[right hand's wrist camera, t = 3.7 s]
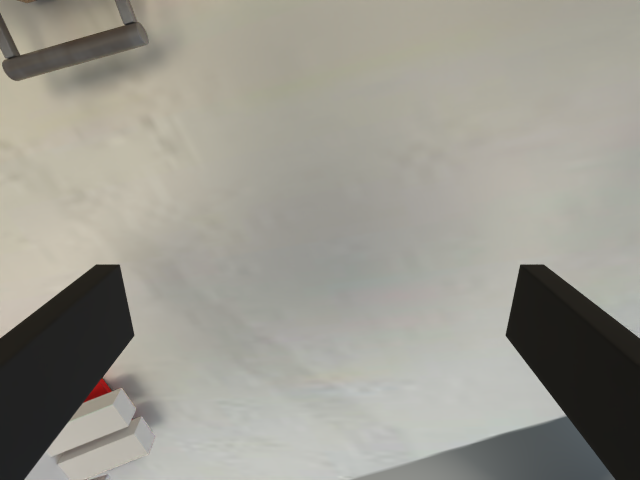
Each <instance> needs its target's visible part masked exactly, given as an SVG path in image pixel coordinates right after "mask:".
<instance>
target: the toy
mask: <svg viewBox="0 0 640 480" xmlns="http://www.w3.org/2000/svg"><path fill="white" fill-rule="evenodd" d="M135 411H136V407H135V406H134V404H133V403H132V401H131V400H130V399H129V397H128V396H127V394H126V393H125V391H124V390H123V389H122V388H120V389H117V390H114V391H111V389H110V388H109V387H108V385H107V384H106V383H105V381H104V380H103V379H101V380H100V381H99V383H98V384H97V385H96V386H95V388H94V389H93V390H92V392H91V393H90V394H89V396H88V397H87V398H86V400H85V401H84V402H83V403H82V405H81V406H80V407H79V409H78V410H77V411H76V413H75V414H74V415H73V417H72V418H71V419H70V421H69V422H68V423H67V424H66V426H65V427H64V428H63V430H62V431H61V432H60V434H59V435H58V436H57V438H56V439H55V440H54V441H53V443H52V444H51V445H50V447H49V448H48V449H47V451H46V452H45V453H44V455H43V456H42V457H41V458H40V460H39V461H38V462H37V464H36V465H35V466H34V468H33V469H32V470H31V472H30V473H29V474H28V476H27V477H26V478H25V479H24V480H87V479H88V478H90V477H93V476H95V475H98V474H100V473H103V472H105V471H108V470H110V469H113V468H115V467H118V466H121V465H123V464H126V463H128V462H131V461H133V460H136V459H138V458H141V457H143V456H146V455H148V454H149V453H150V450H151V447H152V444H153V441H154V439H155V435H154V433H153V432H152V430H151V429H150V427H149V426H148V424H147V423H146V422H145V420H144V419H143V417H142V416H141V417H138V418H136V419H132V418H133V415H134V413H135ZM91 480H110V477H109V476H108V475H104V476H101V477H98V478H94V479H91Z"/></svg>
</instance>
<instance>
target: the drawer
mask: <svg viewBox="0 0 640 480" xmlns="http://www.w3.org/2000/svg"><path fill="white" fill-rule="evenodd" d="M18 1H21V2H25V3H29V2H33V1H36V0H18ZM115 2H116V5H117V7H118V10H119V13H120V15H121V18H122V21H123V23H124V24H125V26H121V27H118V28H114V29H111V30H107V31H104V32H100V33H97V34H93V35H90V36H86V37H83V38H79V39H76V40H72V41H69V42H65V43H62V44H58V45H55V46H51V47H48V48H44V49H41V50H37V51H34V52H30V53H27V54H23V55H20V54H19V52H18V50H17V48H16V45H15V43H14V41H13V39H12V37H11V35H10V33H9V31H8V28H7V26H6V24H5V22H4V20H3V18H2V16H1V14H0V49H1V51H2V53H3V55H4V57H5V58H7V59H6V60H4V61H3V63H2V67H3V69H4V71H5V73H6V74H7V76H8V77H10V78H11V79H12V80H15V81H20V80H23V79H27V78H30V77H34V76H37V75H41V74H45V73H48V72H52V71H55V70H59V69H62V68H66V67H70V66H73V65H77V64H80V63H84V62H87V61H91V60H95V59H98V58H102V57H105V56H109V55H112V54H116V53H120V52H123V51H127V50H130V49H134V48H137V47H141V46H145V45H147V44H148V43H149V41H148V36H147V33H146V31H145V29H144V27H143V26H142V25H141V23H139V22H137V20H136V17H135V15H134V12H133V9H132V6H131V4H130V1H129V0H115Z"/></svg>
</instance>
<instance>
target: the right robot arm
mask: <svg viewBox="0 0 640 480" xmlns="http://www.w3.org/2000/svg"><path fill="white" fill-rule="evenodd" d="M133 337H134V331H133V326H132V322H131V317H130V312H129V307H128V302H127V298H126V293H125V288H124V283H123V278H122V274H121V269H120V265H95V266H94V267H93V268H91V269H90V270H89V271H87V272H86V273H85V274H83V275H82V276H81V277H80V278H78V279H77V280H76V281H74V282H73V283H72V284H70V285H69V286H68V287H67V288H65V289H64V290H63V291H61V292H60V293H59V294H57V295H56V296H55V297H54V298H52V299H51V300H50V301H48V302H47V303H46V304H44V305H43V306H42V307H41V308H39V309H38V310H37V311H35V312H34V313H33V314H31V315H30V316H29V317H28V318H26V319H25V320H24V321H22V322H21V323H20V324H18V325H17V326H16V327H15V328H13V329H12V330H11V331H9V332H8V333H7V334H5V335H4V336H3V337H2V338H0V480H24V479H25V478H26V477H27V476H28V474H29V473H30V472H31V470H32V469H33V468H34V466H35V465H36V464H37V462H38V461H39V460H40V458H41V457H42V456H43V455H44V453H45V452H46V451H47V449H48V448H49V447H50V445H51V444H52V443H53V441H54V440H55V439H56V438H57V436H58V435H59V434H60V432H61V431H62V430H63V428H64V427H65V426H66V424H67V423H68V422H69V421H70V419H71V418H72V417H73V415H74V414H75V413H76V411H77V410H78V409H79V407H80V406H81V405H82V403H83V402H84V401H85V400H86V398H87V397H88V396H89V394H90V393H91V392H92V390H93V389H94V388H95V386H96V385H97V384H98V383H99V381H100V380H101V379H102V377H103V376H104V375H105V373H106V372H107V371H108V369H109V368H110V367H111V366H112V364H113V363H114V362H115V360H116V359H117V358H118V356H119V355H120V354H121V352H122V351H123V350H124V349H125V347H126V346H127V345H128V343H129V342H130V341H131V339H132V338H133ZM506 337H507V338H508V339H509V341H510V342H511V343H512V345H513V346H514V347H515V349H516V350H517V351H518V352H519V354H520V355H521V356H522V358H523V359H524V360H525V362H526V363H527V364H528V366H529V367H530V368H531V369H532V371H533V372H534V373H535V375H536V376H537V377H538V379H539V380H540V381H541V383H542V384H543V385H544V386H545V388H546V389H547V390H548V392H549V393H550V394H551V396H552V397H553V398H554V400H555V401H556V402H557V404H558V405H559V406H560V407H561V409H562V410H563V411H564V413H565V414H566V415H567V417H568V418H569V419H570V420H571V422H572V423H573V424H574V426H575V427H576V428H577V430H578V431H579V432H580V434H581V435H582V436H583V438H584V439H585V440H586V441H587V443H588V444H589V445H590V447H591V448H592V449H593V450H594V452H595V453H596V455H597V456H598V457H599V458H600V460H601V461H602V462H603V464H604V465H605V466H606V468H607V469H608V470H609V472H610V473H611V474H612V476H613V477H614V478H615V479H616V480H640V338H638V337H637V336H636V335H635V334H633V333H632V332H631V331H629V330H628V329H627V328H625V327H624V326H623V325H622V324H620V323H619V322H618V321H616V320H615V319H614V318H612V317H611V316H610V315H609V314H607V313H606V312H605V311H603V310H602V309H601V308H599V307H598V306H597V305H596V304H594V303H593V302H592V301H590V300H589V299H588V298H586V297H585V296H584V295H583V294H581V293H580V292H579V291H577V290H576V289H575V288H573V287H572V286H571V285H570V284H568V283H567V282H566V281H564V280H563V279H562V278H560V277H559V276H558V275H557V274H555V273H554V272H553V271H551V270H550V269H549V268H547V267H546V266H545V265H520V269H519V273H518V278H517V283H516V288H515V293H514V298H513V302H512V307H511V312H510V317H509V322H508V326H507V331H506Z"/></svg>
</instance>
